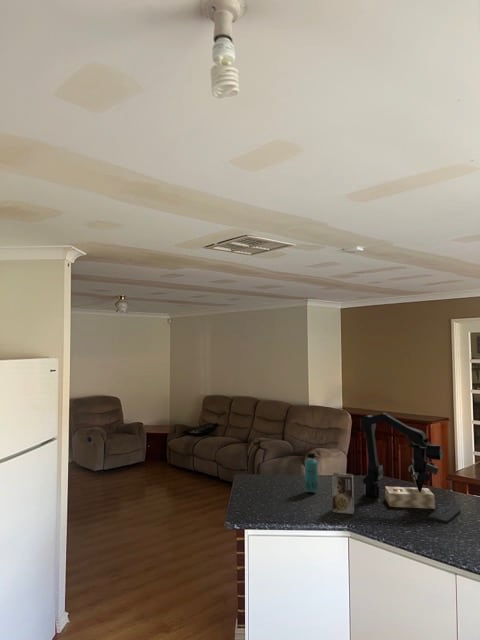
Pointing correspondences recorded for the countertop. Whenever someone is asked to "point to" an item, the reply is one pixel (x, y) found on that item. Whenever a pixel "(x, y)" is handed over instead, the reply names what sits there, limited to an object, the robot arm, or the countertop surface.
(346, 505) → the coffee box
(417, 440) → the robot arm
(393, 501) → the birch block
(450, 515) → the smart home device
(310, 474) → the beverage bottle
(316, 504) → the countertop surface
